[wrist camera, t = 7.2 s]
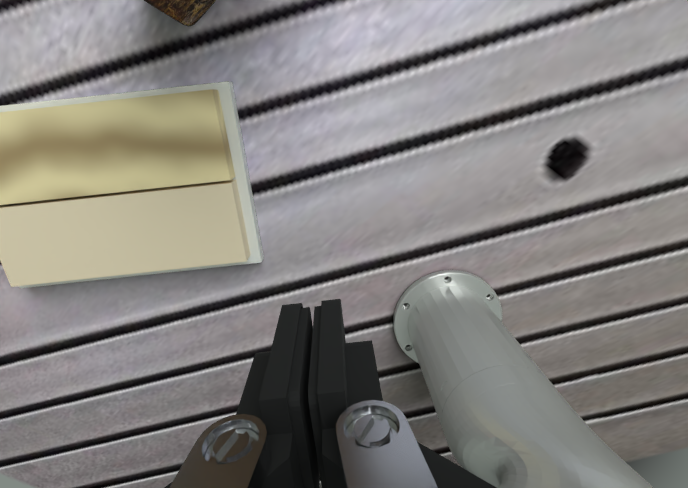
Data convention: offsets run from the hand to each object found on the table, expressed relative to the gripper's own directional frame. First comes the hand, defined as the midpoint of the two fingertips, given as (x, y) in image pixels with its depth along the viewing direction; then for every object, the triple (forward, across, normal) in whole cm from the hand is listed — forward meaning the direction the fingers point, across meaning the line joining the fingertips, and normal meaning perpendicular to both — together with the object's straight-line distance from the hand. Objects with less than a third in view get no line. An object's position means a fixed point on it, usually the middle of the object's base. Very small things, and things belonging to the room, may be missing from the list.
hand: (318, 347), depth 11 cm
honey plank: (+29, +21, -5) cm, 37 cm away
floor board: (+31, +21, -1) cm, 38 cm away
